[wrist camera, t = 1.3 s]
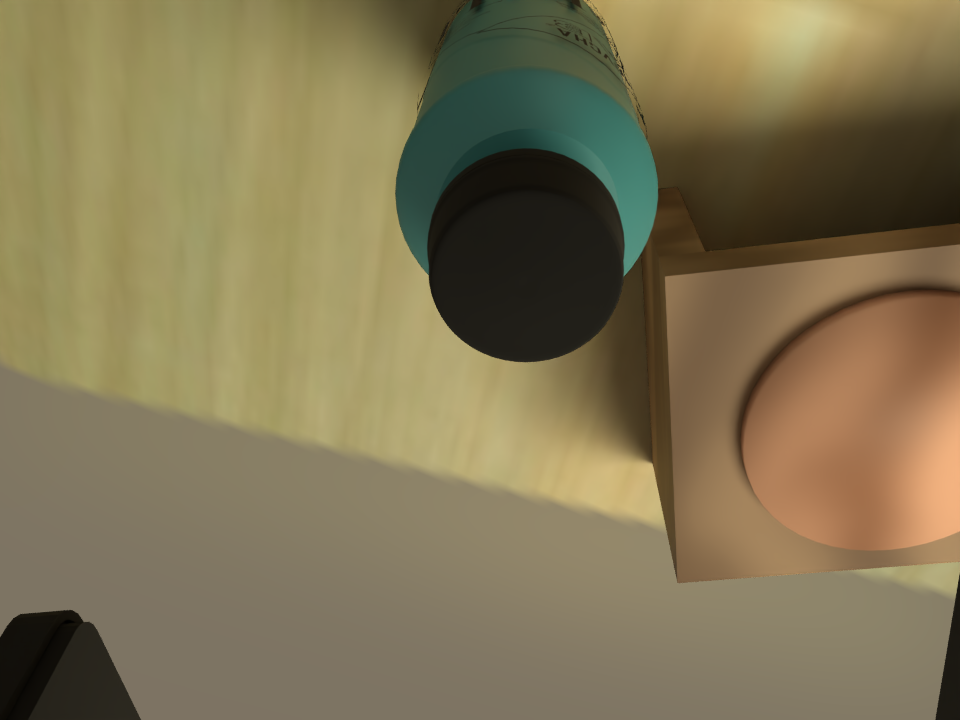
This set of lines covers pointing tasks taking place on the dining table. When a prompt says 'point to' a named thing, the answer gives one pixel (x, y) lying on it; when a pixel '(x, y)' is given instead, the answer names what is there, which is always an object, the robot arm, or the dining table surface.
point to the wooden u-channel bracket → (804, 399)
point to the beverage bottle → (526, 178)
